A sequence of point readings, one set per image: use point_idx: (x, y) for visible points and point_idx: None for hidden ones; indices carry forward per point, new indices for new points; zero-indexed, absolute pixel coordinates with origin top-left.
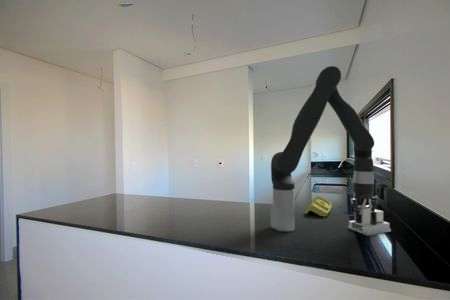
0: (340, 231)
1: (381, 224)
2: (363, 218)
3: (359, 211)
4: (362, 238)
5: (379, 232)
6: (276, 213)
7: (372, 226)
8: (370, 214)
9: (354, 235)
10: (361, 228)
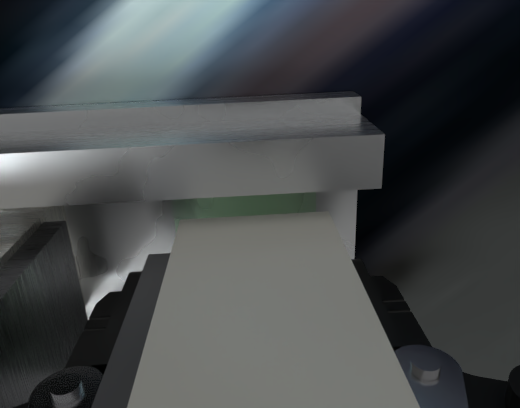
0: (501, 291)
1: (10, 153)
2: (355, 272)
3: (468, 406)
4: (500, 42)
5: (118, 105)
6: None
7: (237, 138)
8: (130, 328)
9: (485, 153)
10: None
